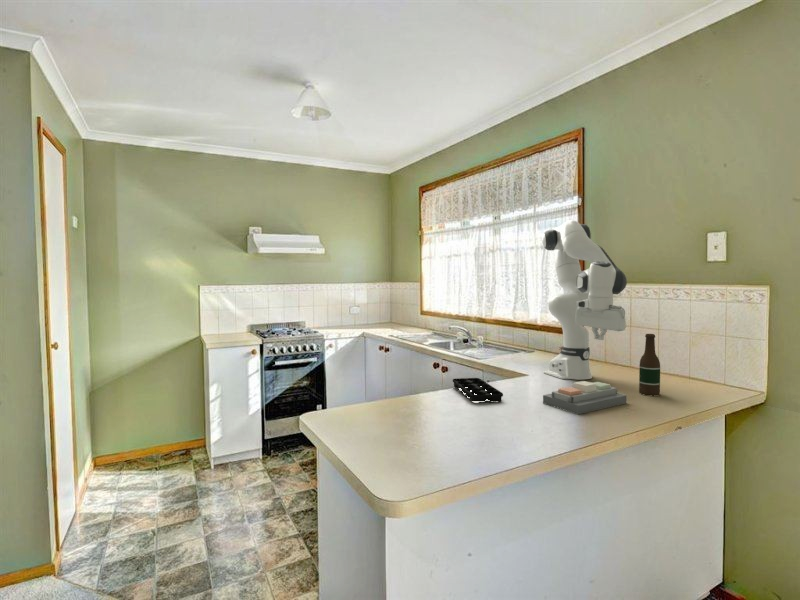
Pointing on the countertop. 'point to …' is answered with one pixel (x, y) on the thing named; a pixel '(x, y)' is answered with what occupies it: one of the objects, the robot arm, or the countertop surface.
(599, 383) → the sage key
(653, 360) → the beer bottle
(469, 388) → the egg carton
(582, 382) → the cream key
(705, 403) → the countertop surface
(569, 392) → the terracotta key
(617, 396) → the keypad
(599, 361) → the countertop surface
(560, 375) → the robot arm
